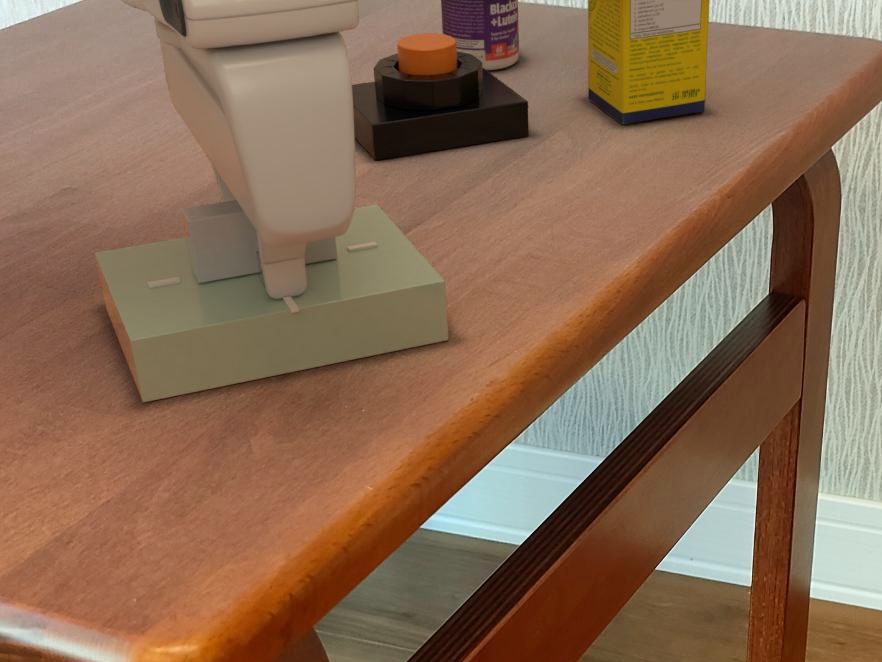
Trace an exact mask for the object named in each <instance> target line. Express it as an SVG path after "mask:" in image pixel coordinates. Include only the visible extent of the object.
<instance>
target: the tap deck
mask: <svg viewBox="0 0 882 662" xmlns="http://www.w3.org/2000/svg"><path fill="white" fill-rule="evenodd" d="M336 246H337V255H338V257H337V259H331V260H326V261H320V262H315V263H309V264H305V269H306V278H307V288H306V290H305V292H304V293H303V294H301V295H298V296H293V297H291V296H287V297H283V298H282V299H274V298H271V297H270V296H269V294H268V293H267V291H266V289H265V288H264V286H263V284H262V282H261V281H260V276H259V273H254V274H249V275H243V276H237V277H232V278H226V279H221V280H215V281H210V282H204V283H198V281H197V279H196V277H195V275H194V274H193V272H192V270H191V264H190V258H189V253H188V247H187V241H186V236H184V237H178V238H172V239H166V240H161V241H155V242H149V243H144V244H137V245H132V246H126V247H120V248H114V249H108V250H103V251H97V252H94V256H95V261H96V266H97V272H98V276H99V280H100V285H101V290H102V294H103V299H104V304H105V308H106V312H107V314H108V317H109V320H110V322H111V325H112V327H113V329H114V333H115V335H116V338H117V341H118V343H119V345H120V348H121V350H122V353H123V356H124V358H125V361H126V364H127V366H128V368H129V371H130V374H131V376H132V379H133V381H134V383H135V386H136V388H137V391H138V394H139V396H140V399H141V401H142V403H148V402H153V401H157V400H158V401H159V400H162V399H168V398H172V397H177V396H183V395H186V394H187V395H188V394H192V393H197V392H201V391H207V390H212V389H217V388H221V387H222V388H223V387H226V386H232V385H235V384H241V383H246V382H251V381H256V380H261V379H265V378H266V379H267V378H269V377H270V378H271V377H275V376H279V375H284V374H289V373H295V372H299V371H305V370H309V369H314V368H319V367H324V366H328V365H329V366H330V365H333V364H334V365H335V364H339V363H343V362H344V363H345V362H349V361H354V360H358V359H364V358H367V357H372V356H377V355H383V354H387V353H392V352H397V351H402V350H407V349H412V348H416V347H422V346H426V345H431V344H437V343H441V342H445V341H449V324H448V323H449V322H448V308H447V307H448V306H447V291H446V290H447V289H446V279H444V277H442V275H441V274H440V273H439V272H438V271H437V270H436V269H435V267H434V266H433V265H432V264H431V263H430V261H428V259H427V258H426V257H425V256H424V255H423V254H422V253H421V252H420V250H419V249H418V248H417V247H416V246H415V245H414V244H413V242H412V241H410V239H409V238H408V237H407V235H405V233H403V231H402V230H401V229H400V228H399V227H398V225H397V224H396V223H395V222H394V221H393V220H392V218H391V217H389V215H388V214H387V213H386V212H385V211H384V209H382V208H381V206H380V205H379V204H372V205H366V206H362V207H361V206H360V207H355V208H354V213H353V217H352V221H351V224H350V227H349V229H348V231H347V232H346V233H345V234H343V235H341V236H337V237H336Z"/></svg>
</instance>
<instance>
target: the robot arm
mask: <svg viewBox="0 0 882 662" xmlns="http://www.w3.org/2000/svg"><path fill="white" fill-rule="evenodd" d="M121 2H123V4H126V5H127V6H128V7H132V8H134V9H137V10H139V11H143V12H148V13H149V14H150V15H151V16H152V17H154V20H153V22H154V27H155V32H156V36H157V38H158V40H159V41H160V42H159V43H160V49H161V55H162V63H163V69H164V75H165V76H164V77H165V81H166V86H167V90H168V93H169V97H170V100H171V103H172V106H173V108H174V109H175V112H177V114H178V116H179V117H180V119H181V120H182V121H183V123H184V124H185V126H186V127H187V129H188V130H189V132H190V133H191V135H192V136H193V138H194V139H195V141H196V142H197V144H198V145H199V147H200V148H201V150H202V152H203V153H204V154H205V156H206V158H207V159H208V160H209V162H210V164H211V167H212V170H213V174H214V176H215V181H216V184H217V187H218V189H219V193H220V196H221V199H222V202H227V201H233V200H237V202H238V203H239V205H240V207H241V208H242V210H243V211H244V213H245V214H246V216H247V217H248V219H249V220H250V222H251V223H252V225H253V226H254V228H255V229H256V231H257V239H258V247H259V251H256V255H257V262H258V268H259V276H260V281H261V282H262V284H263V286H264V288H265V289H266V291H267V293H268V294H269V296H270V297H271V298H274V299H282V298H283V297H287V296H291V297H293V296H298V295H301V294H303V293H304V292H305V290H306V288H307V278H306V269H305V260H304V256H305V251H306V245H307V243H308V242H313V241H318V240H323V239H328V238H333V237H337V236H341V235H343V234H345V233H346V232H347V231H348V229H349V227H350V224H351V221H352V217H353V213H354V208H356V201H357V200H356V199H357V180H356V179H357V177H356V175H357V174H356V173H357V172H356V171H357V170H356V139H355V137H354V113H353V94H352V85H353V81H352V71H351V64H350V59H349V54H348V48H347V46H346V43H345V39H344V37H343V35H342V34H341V32H345V31H350V30H355V29H356V28H357V27H358V26H359V23H360V6H359V0H121Z"/></svg>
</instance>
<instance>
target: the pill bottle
mask: <svg viewBox="0 0 882 662" xmlns="http://www.w3.org/2000/svg"><path fill="white" fill-rule="evenodd" d="M440 5H441V9H440V10H441V29H442V34H444V35H448V36H451V37H453V38H455V40H456V49H457V51H458V52H463V53H468V54H472V55H473V56H475V57H476V58H477V59H479V60H480V61H481V62H482V67H483V68H484V69H485V70H487V71H497V70H502V69H506V68H508V67H511V66H512V65H514V64H515V63H517V62H518V60H519V54H520V38H519V0H440Z"/></svg>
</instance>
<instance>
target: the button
mask: <svg viewBox="0 0 882 662" xmlns="http://www.w3.org/2000/svg"><path fill="white" fill-rule="evenodd" d="M396 48H397V49H396V50H397V53H398V63H399V71H400V72H402V73H407V74H411V75H436V74H443V73H449V72H451V71H454V70H456V69H457V49H456V40H455V38H453V37H451V36H448V35H444V34H443V33H435V32H431V33H430V32H426V33H425V32H424V33H415V34H410V35H407V36H404V37H401V38H400V39H398V40H397V43H396Z"/></svg>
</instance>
